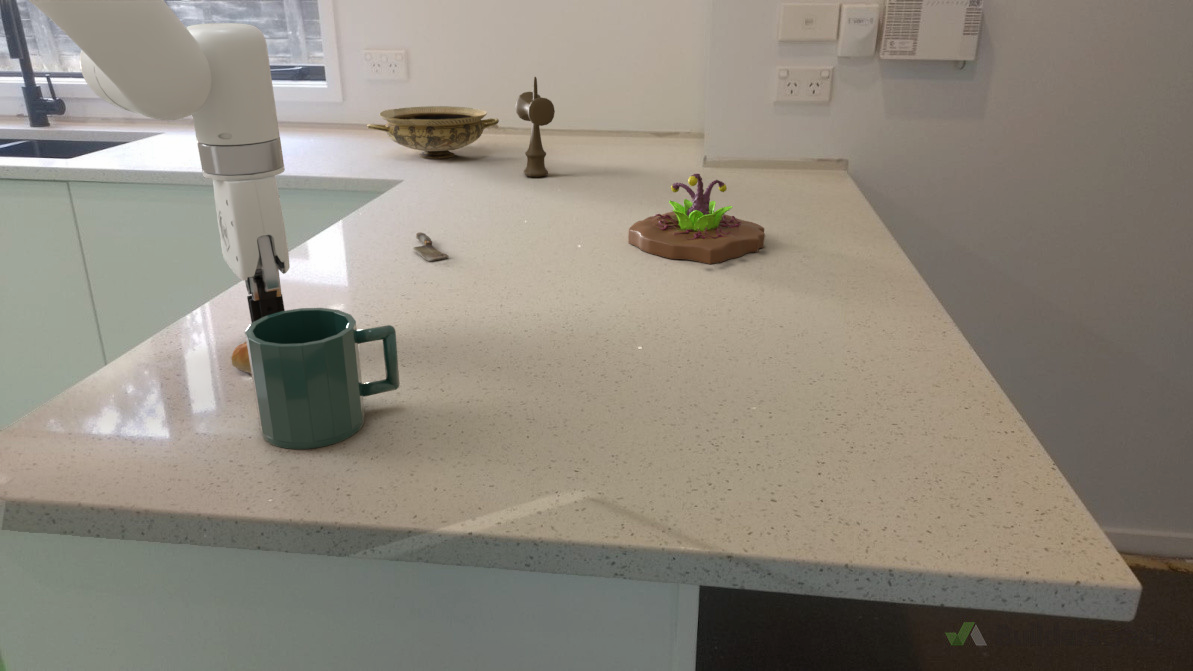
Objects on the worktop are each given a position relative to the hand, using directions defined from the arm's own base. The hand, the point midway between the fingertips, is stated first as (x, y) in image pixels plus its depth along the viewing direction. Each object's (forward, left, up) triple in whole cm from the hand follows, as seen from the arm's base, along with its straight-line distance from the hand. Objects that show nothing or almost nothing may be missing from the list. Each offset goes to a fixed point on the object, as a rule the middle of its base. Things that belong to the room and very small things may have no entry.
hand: (270, 330), depth 89 cm
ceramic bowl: (-32, +108, -2) cm, 113 cm away
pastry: (+4, -2, -2) cm, 5 cm away
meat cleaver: (0, +39, -2) cm, 39 cm away
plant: (+37, +56, -2) cm, 67 cm away
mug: (+15, -12, -2) cm, 19 cm away
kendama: (-3, +95, -2) cm, 95 cm away
